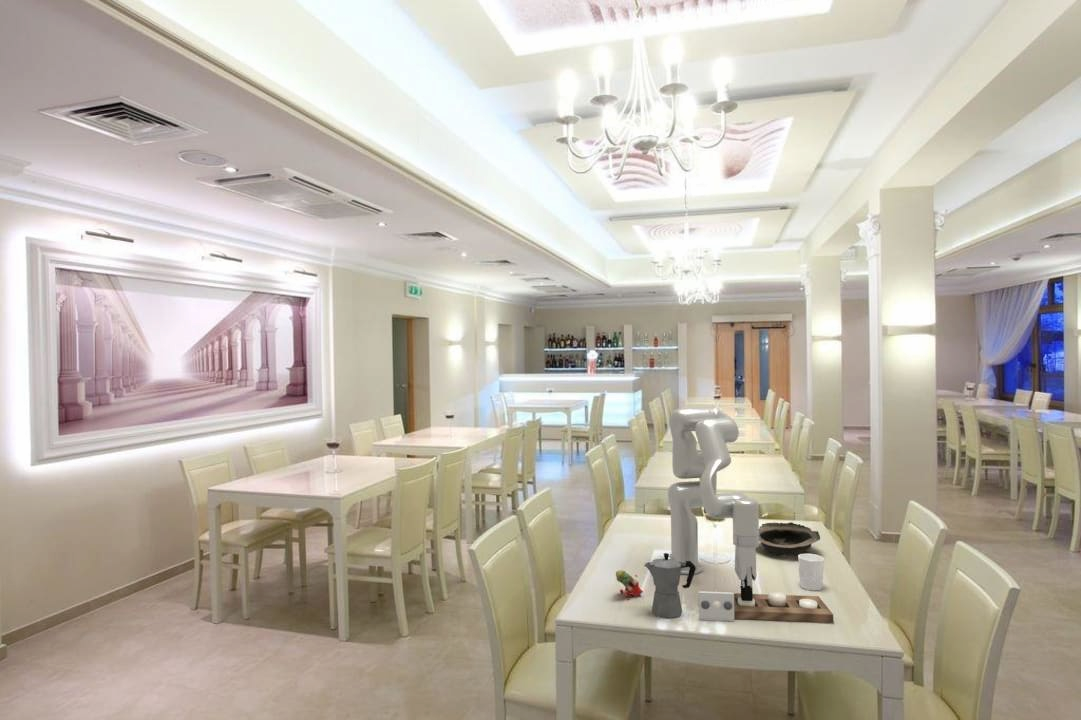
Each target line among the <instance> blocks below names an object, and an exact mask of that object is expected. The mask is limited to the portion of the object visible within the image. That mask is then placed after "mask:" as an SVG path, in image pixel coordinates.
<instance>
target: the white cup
mask: <svg viewBox="0 0 1081 720" xmlns="http://www.w3.org/2000/svg"><path fill="white" fill-rule="evenodd" d="M797 558H798V559H797V561H798V573H799V574H798V575H799V576H798V577H799V586H800V588H803V589H804V590H808V591H821V590H822V589H823V581H824V564H825V563H824V561H825V558H824V557H823V556H821V555H819V554H815V553H814V554H813V553H799V554H798V555H797Z"/></svg>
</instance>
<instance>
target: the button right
mask: <svg viewBox="0 0 1081 720" xmlns="http://www.w3.org/2000/svg"><path fill="white" fill-rule="evenodd" d="M799 606H800V608H814V609H817V602H816V601H814V600H811V599H800V600H799Z"/></svg>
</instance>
